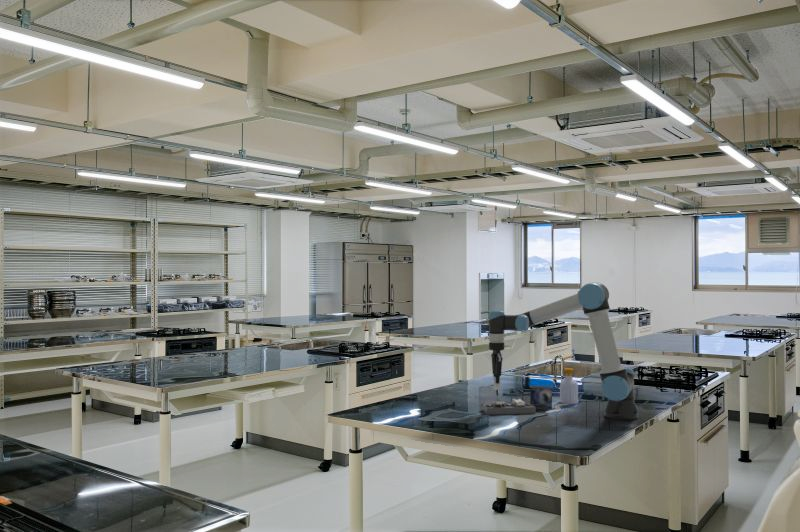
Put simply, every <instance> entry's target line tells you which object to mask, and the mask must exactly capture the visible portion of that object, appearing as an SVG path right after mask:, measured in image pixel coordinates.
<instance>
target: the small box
mask: <svg viewBox="0 0 800 532" xmlns="http://www.w3.org/2000/svg"><path fill="white" fill-rule="evenodd" d="M529 387H530V389H529V391H530V393H529V396H530V397H529V398H530V402H529V403H530V404H532V405H533V406H535V407H536V408H537V407H548V408H549V409H553V388H552V386H551V385H530V386H529ZM549 409H548V410H549Z"/></svg>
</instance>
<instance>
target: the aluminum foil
mask: <svg viewBox="0 0 800 532" xmlns="http://www.w3.org/2000/svg"><path fill="white" fill-rule="evenodd" d="M588 377H589V378H594V379H601V377H600V374H596V373H590V374H589V376H588Z"/></svg>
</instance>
